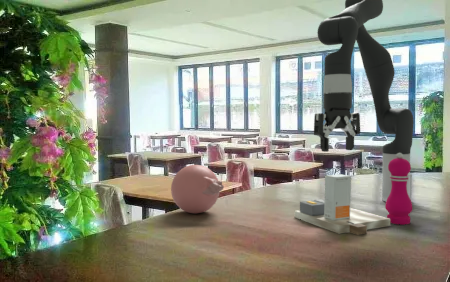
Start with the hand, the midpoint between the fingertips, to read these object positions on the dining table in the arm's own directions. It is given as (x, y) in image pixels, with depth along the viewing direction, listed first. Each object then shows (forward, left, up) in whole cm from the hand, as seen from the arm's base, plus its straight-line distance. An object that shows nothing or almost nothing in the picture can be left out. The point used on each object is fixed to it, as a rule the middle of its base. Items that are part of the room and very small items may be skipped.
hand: (337, 150), depth 116 cm
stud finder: (+1, -8, -19) cm, 20 cm away
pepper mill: (-18, +5, -21) cm, 28 cm away
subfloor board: (-4, -2, -21) cm, 21 cm away
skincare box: (0, 0, -19) cm, 19 cm away
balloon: (+29, -30, -21) cm, 47 cm away
